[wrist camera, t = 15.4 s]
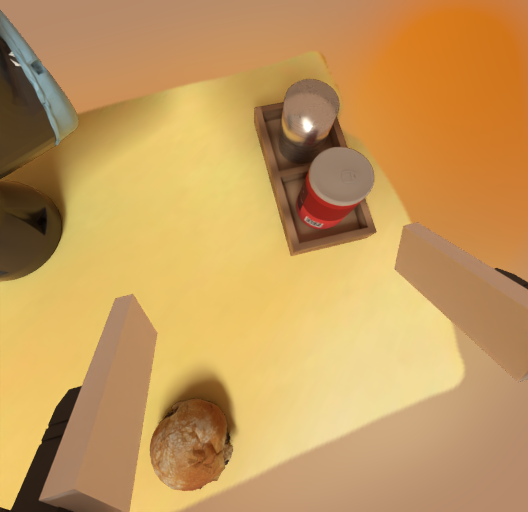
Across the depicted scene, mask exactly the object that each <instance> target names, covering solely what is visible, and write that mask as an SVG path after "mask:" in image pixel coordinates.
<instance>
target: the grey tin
mask: <svg viewBox="0 0 528 512" xmlns="http://www.w3.org/2000/svg"><path fill="white" fill-rule="evenodd" d="M338 110H339V99H338V96H337V94H336V93H335V91H334V90H333V89H332V88H331V87H330V86H329V85H327V84H326V83H324V82H322V81H319V80H314V79H306V80H301V81H298V82H296V83H295V84H293V85H292V86H291V87H290V88H289V89H288V91H287V92H286V95H285V100H284V106H283V113H282V119H281V126H280V133H279V139H278V147H279V150H280V152H281V154H282V155H283V156H284V157H285V158H286V159H287V160H289V161H291V162H293V163H297V164H306V163H309V162H312V161H313V160H314V159H315V158H316V157H317V156H318V155H319V154H320V152H321V150H322V147H323V145H324V143H325V141H326V138H327V136H328V134H329V132H330V129H331V127H332V125H333V122H334V120H335V118H336V116H337V113H338Z"/></svg>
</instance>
